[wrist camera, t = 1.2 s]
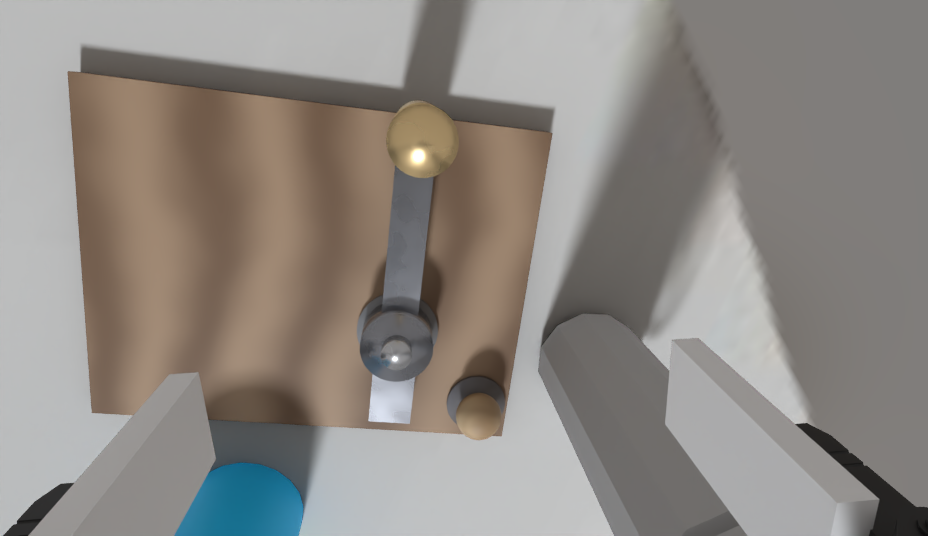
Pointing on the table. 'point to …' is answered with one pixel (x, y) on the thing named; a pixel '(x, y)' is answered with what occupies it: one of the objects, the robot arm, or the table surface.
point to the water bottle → (627, 432)
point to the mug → (244, 504)
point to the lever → (406, 261)
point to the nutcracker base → (289, 254)
